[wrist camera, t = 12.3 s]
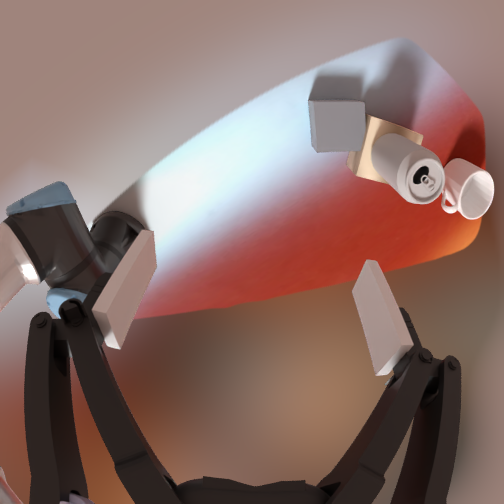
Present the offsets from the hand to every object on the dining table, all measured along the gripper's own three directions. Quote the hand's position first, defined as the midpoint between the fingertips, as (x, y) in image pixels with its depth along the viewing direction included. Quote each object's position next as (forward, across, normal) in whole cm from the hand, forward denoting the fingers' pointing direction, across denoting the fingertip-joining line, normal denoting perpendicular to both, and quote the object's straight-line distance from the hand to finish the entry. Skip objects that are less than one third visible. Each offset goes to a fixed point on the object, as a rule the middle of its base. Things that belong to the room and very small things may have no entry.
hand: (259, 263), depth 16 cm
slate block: (+33, +11, +6) cm, 35 cm away
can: (+27, +20, +4) cm, 34 cm away
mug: (+33, +40, +2) cm, 52 cm away
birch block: (+33, +20, +4) cm, 39 cm away
